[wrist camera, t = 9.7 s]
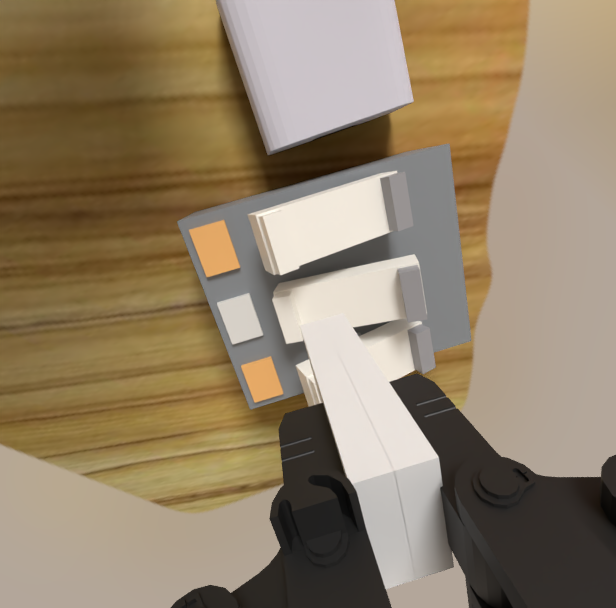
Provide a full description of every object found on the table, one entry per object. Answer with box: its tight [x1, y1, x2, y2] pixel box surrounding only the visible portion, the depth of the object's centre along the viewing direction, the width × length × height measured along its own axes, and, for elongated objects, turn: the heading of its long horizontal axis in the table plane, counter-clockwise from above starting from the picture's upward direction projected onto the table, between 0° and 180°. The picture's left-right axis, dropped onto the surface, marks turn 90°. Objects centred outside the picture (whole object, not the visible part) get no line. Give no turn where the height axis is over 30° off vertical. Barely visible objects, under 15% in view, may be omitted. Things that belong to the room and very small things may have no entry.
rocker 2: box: [272, 254, 427, 344], centre depth 20 cm, size 8×3×2 cm, turn 105°
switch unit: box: [177, 144, 471, 410], centre depth 25 cm, size 16×13×7 cm
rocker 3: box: [296, 318, 436, 407], centre depth 22 cm, size 8×3×2 cm, turn 105°
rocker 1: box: [247, 171, 414, 275], centre depth 19 cm, size 8×3×2 cm, turn 105°
